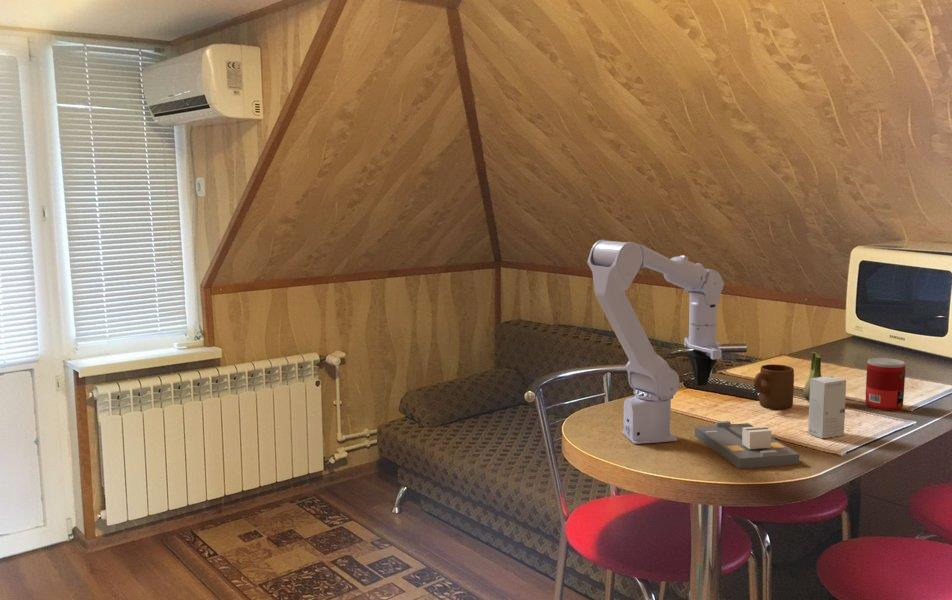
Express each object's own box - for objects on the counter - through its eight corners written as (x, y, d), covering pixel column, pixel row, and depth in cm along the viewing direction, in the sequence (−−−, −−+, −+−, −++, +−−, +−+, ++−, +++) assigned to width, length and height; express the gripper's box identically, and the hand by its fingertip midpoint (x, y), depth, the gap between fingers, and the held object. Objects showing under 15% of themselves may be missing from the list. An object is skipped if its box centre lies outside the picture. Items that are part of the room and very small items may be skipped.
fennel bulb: (820, 405, 188) (822, 356, 186) (799, 402, 191) (801, 353, 189) (827, 400, 193) (829, 351, 191) (806, 396, 196) (808, 349, 194)
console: (739, 468, 148) (740, 454, 148) (694, 435, 168) (695, 423, 167) (799, 464, 150) (799, 450, 149) (747, 432, 169) (748, 419, 169)
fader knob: (749, 449, 152) (750, 431, 151) (742, 444, 155) (742, 427, 154) (770, 447, 153) (771, 430, 152) (762, 442, 155) (763, 425, 155)
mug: (768, 416, 181) (769, 375, 179) (740, 408, 187) (741, 369, 185) (799, 406, 187) (801, 368, 186) (771, 400, 194) (772, 362, 192)
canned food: (905, 412, 181) (908, 365, 180) (867, 409, 184) (869, 363, 182) (899, 403, 188) (902, 358, 187) (862, 401, 191) (865, 356, 189)
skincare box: (822, 439, 163) (825, 382, 162) (806, 433, 168) (808, 378, 166) (845, 435, 166) (848, 379, 164) (828, 429, 170) (831, 375, 168)
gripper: (735, 328, 164) (734, 392, 166) (705, 317, 178) (704, 375, 180) (703, 330, 163) (702, 394, 165) (676, 318, 177) (675, 377, 179)
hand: (701, 384), depth 173 cm, fingers closed
